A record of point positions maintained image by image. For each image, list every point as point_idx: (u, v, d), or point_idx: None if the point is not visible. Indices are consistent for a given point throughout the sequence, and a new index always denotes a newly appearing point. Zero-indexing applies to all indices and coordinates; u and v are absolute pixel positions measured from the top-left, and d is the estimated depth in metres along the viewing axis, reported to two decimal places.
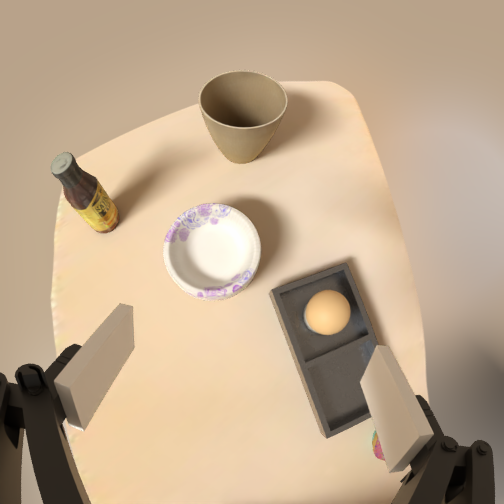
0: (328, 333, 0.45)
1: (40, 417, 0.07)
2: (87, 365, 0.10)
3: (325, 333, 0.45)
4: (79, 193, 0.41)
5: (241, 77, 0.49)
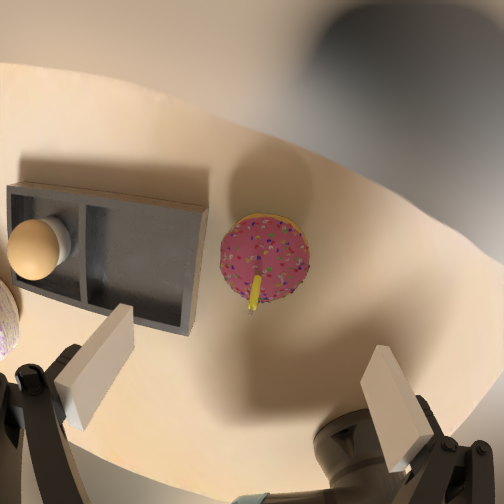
0: (47, 269, 0.29)
1: (40, 417, 0.07)
2: (87, 365, 0.10)
3: (47, 271, 0.29)
4: None
5: None
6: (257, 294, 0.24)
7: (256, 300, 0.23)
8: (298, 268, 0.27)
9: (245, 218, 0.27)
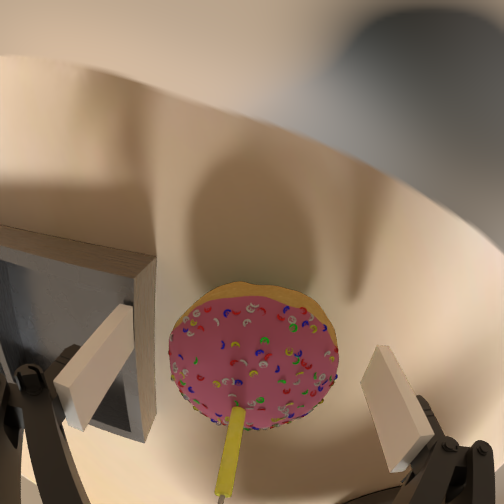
0: None
1: (39, 417, 0.07)
2: (87, 365, 0.10)
3: None
4: None
5: None
6: (235, 461, 0.10)
7: (232, 479, 0.09)
8: (318, 389, 0.13)
9: (211, 297, 0.13)
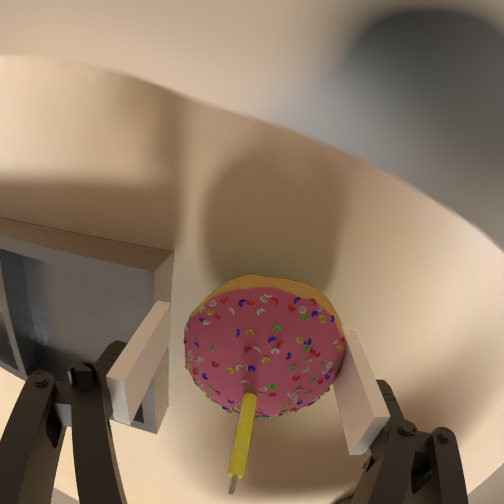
0: None
1: (89, 414, 0.08)
2: (137, 359, 0.11)
3: None
4: None
5: None
6: (247, 444, 0.11)
7: (244, 460, 0.10)
8: (325, 377, 0.14)
9: (226, 288, 0.14)
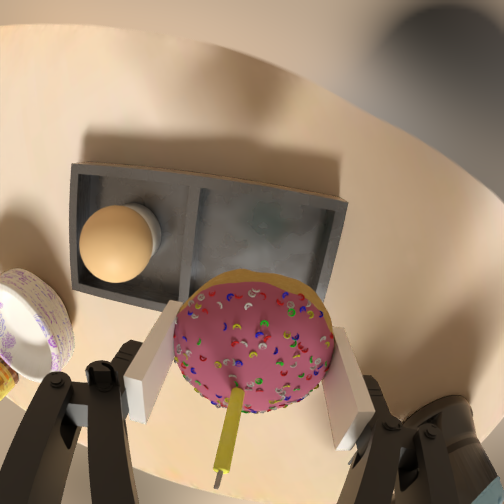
0: (140, 268, 0.26)
1: (105, 414, 0.08)
2: (153, 359, 0.11)
3: (139, 271, 0.26)
4: None
5: None
6: (233, 439, 0.11)
7: (230, 455, 0.10)
8: (314, 373, 0.14)
9: (215, 282, 0.14)
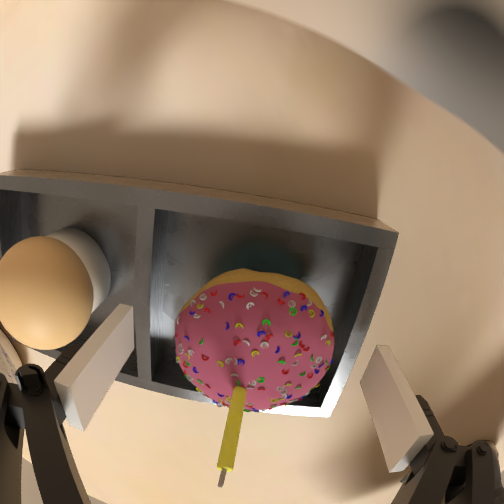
0: (73, 333, 0.15)
1: (40, 417, 0.07)
2: (87, 365, 0.10)
3: (73, 336, 0.16)
4: None
5: None
6: (236, 437, 0.11)
7: (233, 453, 0.10)
8: (314, 371, 0.14)
9: (217, 282, 0.14)
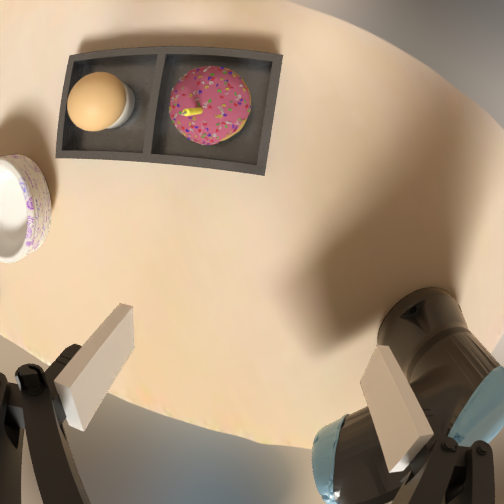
0: (113, 112, 0.28)
1: (40, 417, 0.07)
2: (87, 365, 0.10)
3: (112, 116, 0.28)
4: None
5: None
6: (194, 109, 0.24)
7: (191, 109, 0.23)
8: (238, 103, 0.27)
9: (192, 69, 0.27)
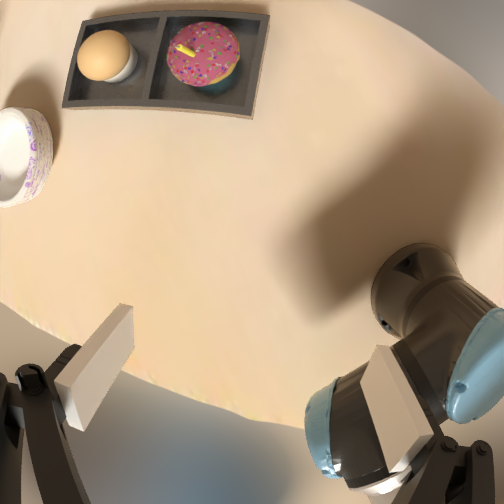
0: (117, 62, 0.29)
1: (40, 417, 0.07)
2: (87, 365, 0.10)
3: (116, 65, 0.29)
4: None
5: None
6: (187, 48, 0.24)
7: (184, 46, 0.24)
8: (227, 49, 0.27)
9: (188, 25, 0.27)
